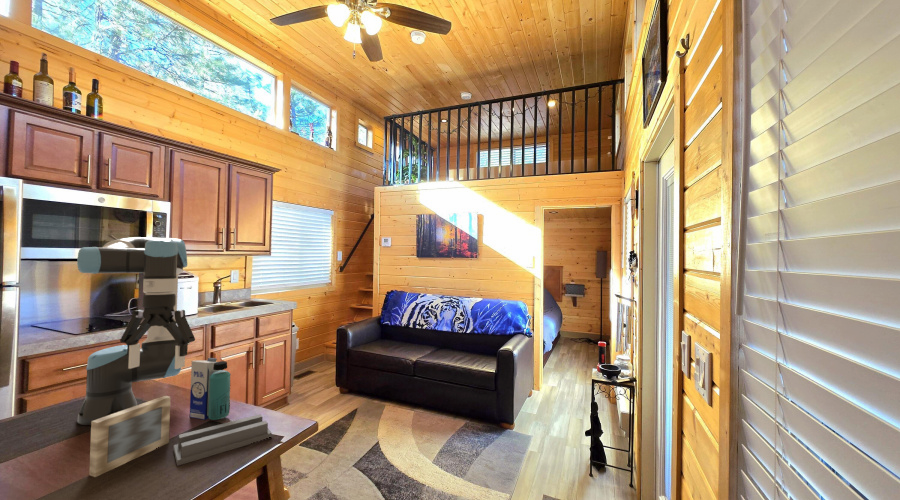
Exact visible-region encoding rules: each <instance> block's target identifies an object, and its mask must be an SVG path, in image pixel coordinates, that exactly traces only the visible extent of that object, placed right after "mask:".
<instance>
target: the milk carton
mask: <svg viewBox="0 0 900 500" xmlns="http://www.w3.org/2000/svg"><path fill="white" fill-rule="evenodd" d="M217 360H218V358H217V357H207V360H201V359H200V360H197V359H196V360H191V366H190V367H191V370H190V393H189V394H190V395H189V396H190V397H189V418H192V419H197V420H198V419H199V420H204V421H206V420H208V419H209V417H208V409H209V403H208V402H209V383H210V378H209V377H210V375H211V374H213V373H214V372H216V371H221V370H213V367H214V363H216V362H217Z"/></svg>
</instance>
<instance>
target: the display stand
mask: <svg viewBox="0 0 900 500" xmlns="http://www.w3.org/2000/svg"><path fill="white" fill-rule="evenodd" d="M269 437H272V431H271V430H270V428H269V423H268V422H267V420H263V415H262V414H261V413H260V414H259V413H258V414H255V415H252V416H248V417H244V418H240V419H235V420H232V421H228V422H227V421H226V422H224V423H221V424H217V425H212V426H209V427H205V428H200V429H196V430H193V431H189V432H184V433H180V434H178V439H177V440H178V442H177V444H173V454H174V458H175V461H176V462H175V463H176V467H177V466H181V465H185V464H188V463H191V462H194V461H198V460H202V459H204V458H208V457H211V456H212V457H213V456H215V455H218V454H222V453H224V452H228V451H231V450H236V449H238V448H241V447H244V446H248V445H252V444H254V443H253V442H255V443H257V442H256V441H258V442H260V441H259V440H262V439H265V438H268V439H270V438H269ZM265 440H266V439H265ZM262 441H263V440H262ZM251 443H252V444H251Z"/></svg>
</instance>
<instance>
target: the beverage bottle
mask: <svg viewBox="0 0 900 500" xmlns="http://www.w3.org/2000/svg"><path fill="white" fill-rule="evenodd" d="M226 369H228V362H227V361H225V360H222V361H216V363H214V367H213V370H221V371H216V372H214V373H213V374H211V375H210V377H209V378H210V383H209V402H208V403H209V409H208V417H209V418H208V419H209V420H220V419H225V418H227V417H228V416H229V414H230V410H231V397H230V396H231V375H232V374H231V373H230V371H228V370H226Z"/></svg>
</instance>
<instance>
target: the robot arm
mask: <svg viewBox="0 0 900 500" xmlns="http://www.w3.org/2000/svg"><path fill="white" fill-rule="evenodd" d="M185 243H186V242H185V241H184V240H183V239H182V238H181V239H180V238H172V237H148V236H147V237H141V236H133V237H132V236H131V237H124V238H123V237H121V238H117V239H114V240H113V239H112V240H110V241H108V242H106V243H105V244H104V245H103V246H102V247H97V246H92V247H91V246H90V247H89V246H87V247H85V246H83V247H81V248H80V249H79V250H78V253H77V263H76V264H77V265H76V266H77V270H78V271H79V272H80V273H81V274H92V275H93V274H95V275H96V274H143V285H142V286H143V287H142V293H144V295H142V302H141V303H142V305H141V306H142V308H144V309H138V310H137V309H136V310H133V311H132V314H131V318H130V320H129V322H128V324H127V326H126V327H125V329H124V332H123V334H122V335H121V337H120V340H119V342H120V343H122V345H115V346H111V347H106V348H104V349H100V350H97V351H95V352H93V353H91V354H90V355H89V356H88V357H87V362H86V363H87V364H86V366H85V367H86V368H85V371H86V382H85V383H86V386H85V388H86V389H85V399H84V401H83V402H82V405H81V406H80V409H79V411H78V414H77V424H79V425H82V426H91V421H93V420H96V419H99V418H102V417H105V416H108V415H111V414H114V413H117V412H119V411H122V410H125V409H128V408H131V407H134V406H137V405H138V401H137V399H136V397H135V395H134V392H133V389H132V387H133V386H132V385H133V384H132V383H138V382H144V381H150V380H157V379H166V378H170V377H175V376H178V375H179V374H180V372H181V370H182V368H183V367H185V366H186V364H185V363H186V361H185V360H186V356H187V355H188V347H189V344H190V343H192V342H195V340H196V337H195V336H194V333H193V331H192V329H191V327H190V324H189V322H188V319H187V317H186V311H185V310H184V309H179V310H178V286H179V285H178V284H179V282H178V281H179V275H180V274H182V273H183V272H184V271H183V270H184V268H186V267H188V256H187V248H186V244H185ZM146 333H147V337H146V339H144V341H142V342H141V343H140V341H141V339H142V338H143V337H144V335H145V334H146Z"/></svg>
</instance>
